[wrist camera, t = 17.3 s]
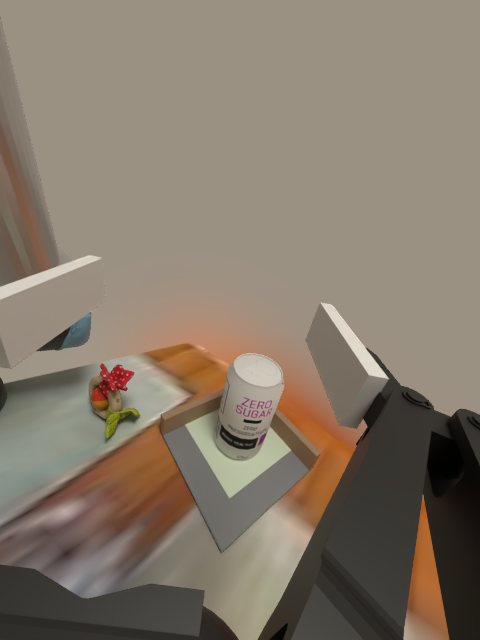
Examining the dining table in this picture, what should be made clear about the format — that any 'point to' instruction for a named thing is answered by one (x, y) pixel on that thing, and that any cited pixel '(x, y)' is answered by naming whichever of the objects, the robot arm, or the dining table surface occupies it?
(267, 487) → the corner arena
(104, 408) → the bird rattle
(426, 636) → the dining table surface
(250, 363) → the supplement can
